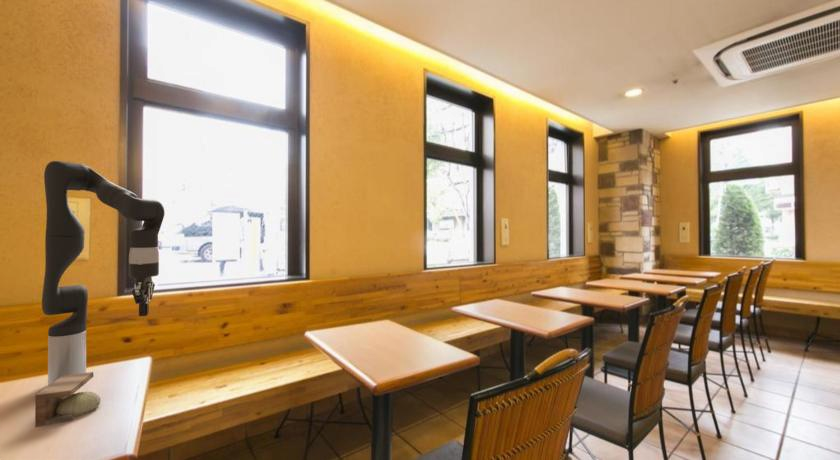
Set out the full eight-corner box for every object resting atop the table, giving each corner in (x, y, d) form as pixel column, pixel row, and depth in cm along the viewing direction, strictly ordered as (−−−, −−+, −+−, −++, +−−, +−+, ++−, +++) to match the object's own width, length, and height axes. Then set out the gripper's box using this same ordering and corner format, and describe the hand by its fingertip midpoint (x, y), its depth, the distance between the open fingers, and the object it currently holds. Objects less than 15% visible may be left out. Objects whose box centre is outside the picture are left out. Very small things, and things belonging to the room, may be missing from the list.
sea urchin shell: (73, 415, 96) (59, 391, 98) (59, 432, 98) (45, 409, 99) (110, 399, 105) (97, 378, 107) (97, 415, 106) (84, 394, 108)
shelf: (62, 403, 106) (62, 375, 106) (93, 399, 109) (93, 371, 109) (35, 427, 93) (35, 395, 94) (70, 421, 96) (70, 390, 96)
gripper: (137, 259, 117) (136, 311, 117) (121, 263, 104) (120, 321, 105) (164, 259, 120) (163, 310, 120) (151, 263, 107) (151, 319, 107)
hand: (143, 315), depth 112 cm, fingers closed
